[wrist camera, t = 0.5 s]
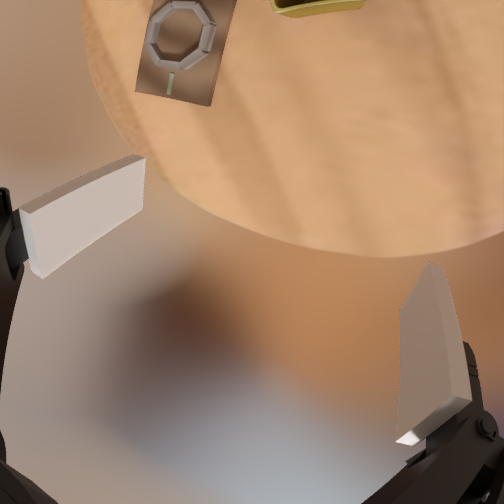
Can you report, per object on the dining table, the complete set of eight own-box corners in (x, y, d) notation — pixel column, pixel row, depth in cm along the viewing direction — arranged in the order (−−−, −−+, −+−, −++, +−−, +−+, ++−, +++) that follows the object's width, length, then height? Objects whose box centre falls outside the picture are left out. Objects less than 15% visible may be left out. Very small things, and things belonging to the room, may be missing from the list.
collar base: (164, -22, 29) (154, -25, 27) (242, -20, 28) (235, -26, 26) (139, 91, 39) (128, 92, 37) (210, 106, 37) (201, 107, 35)
